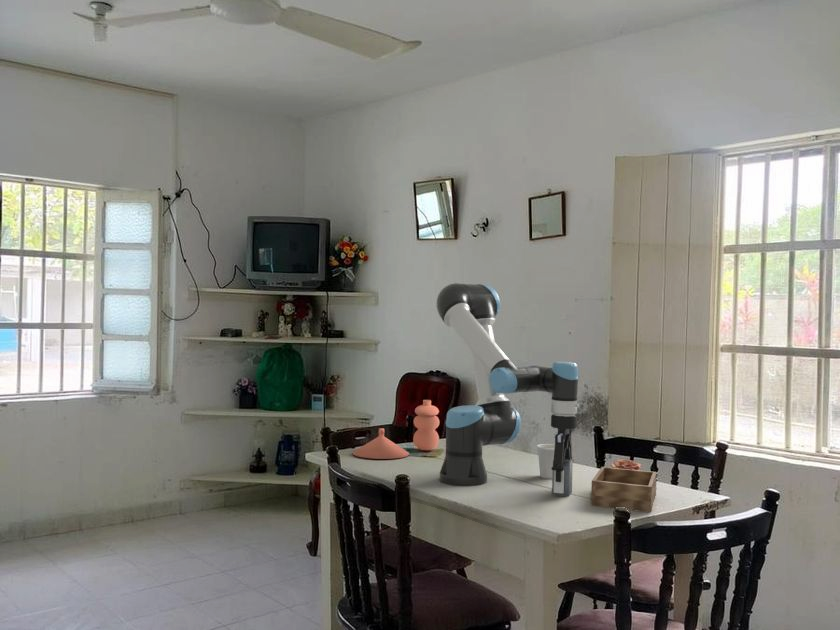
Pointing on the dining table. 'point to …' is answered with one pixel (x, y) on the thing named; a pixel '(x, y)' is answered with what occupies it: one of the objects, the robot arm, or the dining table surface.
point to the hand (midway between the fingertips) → (562, 488)
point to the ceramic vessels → (422, 438)
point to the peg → (565, 478)
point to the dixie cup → (546, 459)
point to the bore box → (624, 489)
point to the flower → (626, 464)
